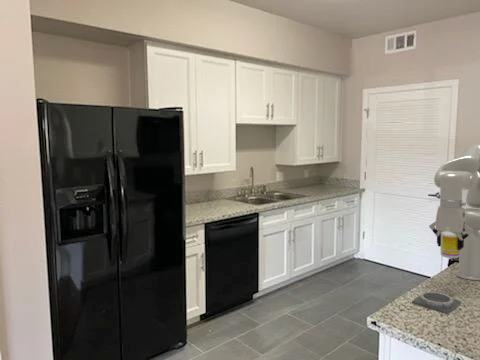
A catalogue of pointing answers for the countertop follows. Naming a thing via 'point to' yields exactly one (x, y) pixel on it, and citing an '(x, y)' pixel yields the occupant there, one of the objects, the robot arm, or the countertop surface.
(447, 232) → the supplement bottle
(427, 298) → the ring plate
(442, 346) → the countertop surface
